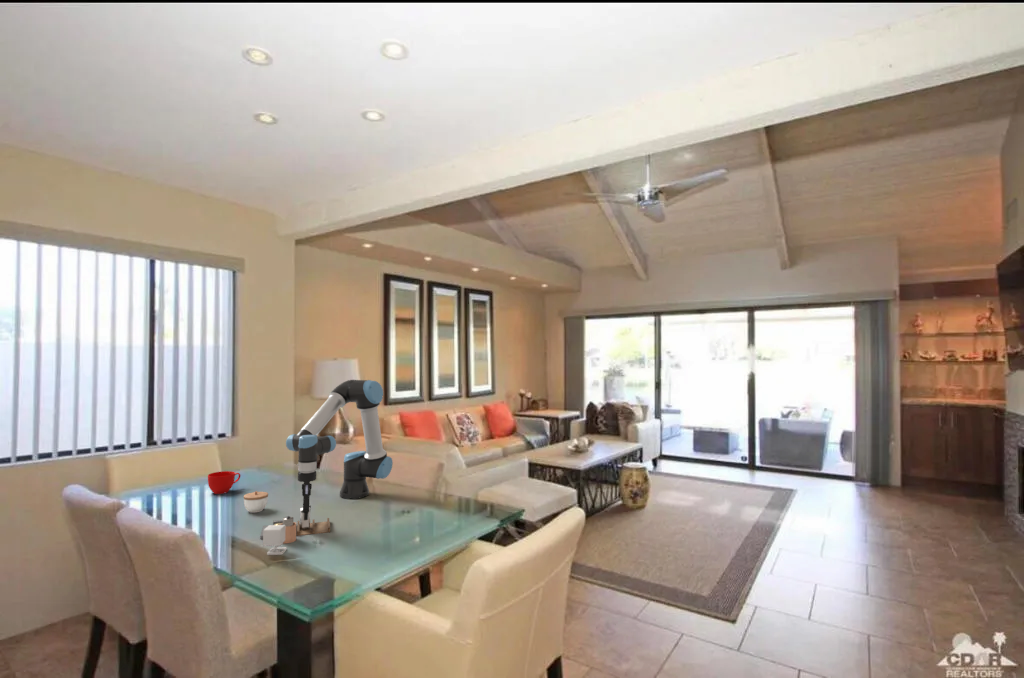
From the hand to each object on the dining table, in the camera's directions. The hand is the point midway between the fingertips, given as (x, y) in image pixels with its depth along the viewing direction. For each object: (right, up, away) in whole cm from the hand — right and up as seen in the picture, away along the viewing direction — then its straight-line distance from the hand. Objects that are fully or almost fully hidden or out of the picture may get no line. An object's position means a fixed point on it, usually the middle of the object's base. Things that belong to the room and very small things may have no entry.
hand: (305, 525), depth 226 cm
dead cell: (-2, -2, -13) cm, 13 cm away
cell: (0, -2, 0) cm, 2 cm away
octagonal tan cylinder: (-2, -2, -13) cm, 13 cm away
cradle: (-10, -2, -3) cm, 11 cm away
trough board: (+3, -2, +1) cm, 4 cm away
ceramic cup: (-68, -3, +59) cm, 89 cm away
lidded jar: (-35, -3, +26) cm, 44 cm away
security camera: (-2, -2, -25) cm, 25 cm away
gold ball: (-10, -2, -4) cm, 11 cm away
